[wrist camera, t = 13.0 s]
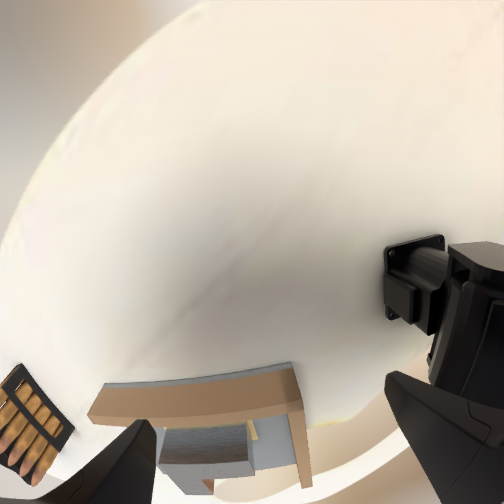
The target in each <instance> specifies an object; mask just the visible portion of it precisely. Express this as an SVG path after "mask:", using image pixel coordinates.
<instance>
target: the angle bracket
mask: <svg viewBox="0 0 504 504" xmlns="http://www.w3.org/2000/svg"><path fill="white" fill-rule="evenodd" d="M158 464H159V465H160V467H161V468H162V469H163V470H164V471H165V473H166V474H167V475H168V476H169V477H170V478H171V479H172V481H173V482H174V483H175V484H176V485H177V486H178V487H179V488H180V489H181V490H182V491H183V492H184V493H185V494H186V495H214V479H224V478H237V477H248V476H255V468H254V455H253V442H252V436H251V433H250V430H249V427H248V424H247V421H241V422H234V423H225V424H216V425H204V426H189V427H167V428H166V432H165V437H164V441H163V445H162V449H161V453H160V458H159V462H158Z"/></svg>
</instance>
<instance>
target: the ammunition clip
mask: <svg viewBox="0 0 504 504" xmlns="http://www.w3.org/2000/svg"><path fill="white" fill-rule="evenodd" d="M20 384H21V385H20ZM19 385H20V386H19ZM18 386H19V387H18ZM17 387H18V389H17ZM16 389H17V390H16ZM15 390H16V391H15ZM29 396H30V397H29ZM28 397H29V398H28ZM26 400H27V401H26ZM5 401H6V403H5V404H4V405H3V406H2V404H3V403H4V402H5ZM25 401H26V402H25ZM24 402H25V403H24ZM23 403H24V404H23ZM1 406H2V407H1ZM0 407H1V409H0V430H1V429H2V428H3V427H4V426H5V425H6V424H8V423H9V421H10V420H11V419H12V417H13V416H14V415H15V414H16V415H15V416H14V417H13V419H12V420H11V421H10V423H9V424H8V426H7V428H6V431H5V432H4V434H3V436H2V437H1V439H0V454H1V453H2V452H4V451H5V450H6V449H7V448H8V447H9V445H10V444H11V443H12V442H13V440H14V439H15V438H16V437H17V436H18V435H19V434H20V435H19V436H18V439H17V442H16V443H15V445H14V447H13V449H12V451H11V453H10V455H9V459H8V466H12V465H13V464H15V463H16V462H17V461H18V460H19V458H20V457H21V455H22V454H23V453H24V451H25V450H26V449H27V448H28V447H29V448H28V452H27V454H26V456H25V458H24V460H23V462H22V465H21V468H20V477H23V476H24V475H26V474H27V473H28V472H29V471H30V469H31V468H32V466H33V464H34V463H35V462H36V460H37V459H38V458H39V457H40V458H39V461H38V464H37V466H36V469H35V471H34V473H33V476H32V481H31V485H32V487H34V486H36V485H37V484H38V483H39V482H40V481H41V480H42V478H43V476H44V474H45V473H46V471H47V470H48V469H49V468H50V467H51V465H52V463H53V461H54V459H55V457H56V456H57V454H58V452H60V451H61V450H62V448H63V447H64V445H65V443H66V442H67V440H68V439H69V437H70V436H71V434H72V432H73V431H74V429H75V427H74V426H73V425H72V424H71V423H70V422H69V421H68V420H67V418H66V417H65V416H64V415H63V414H62V413H61V412H60V411H59V410H58V409H57V407H56V406H55V405H54V404H53V403H52V402H51V400H50V399H49V398H48V397H47V396H46V394H45V393H44V392H43V391H42V389H41V388H40V387H39V385H38V384H37V383H36V382H35V380H34V379H33V378H32V376H31V375H30V373H29V372H28V371H27V369H26V368H25V366H24V365H23V363H21V364H19V365H17V366H16V367H15V368H14V369H13V370H12V371H11V372H10V373H9V375H8V376H7V377H6V378H5V379H4V381H3V382H2V383H1V384H0ZM21 431H22V432H21Z"/></svg>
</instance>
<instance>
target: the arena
mask: <svg viewBox="0 0 504 504" xmlns="http://www.w3.org/2000/svg"><path fill="white" fill-rule="evenodd" d="M87 416H88V417H89V419H90V420H91V422H92V423H93V424H98V425H109V426H123V427H127V428H128V427H129V426H130V425H131V424H132V423H133V422H134V421H135V420H136V419H147V420H148V421H149V422H150V424H151V425H152V427H153V428H154V430H155V431H156V434H157V448H156V466H157V467H158V468H159V469H160V470H161V471H162V473H163V474H166V473H165V471H164V470H163V469H162V468H161V467H160V465H159V464H158V462H159V458H160V453H161V449H162V445H163V441H164V437H165V432H166V428H167V427H189V426H204V425H216V424H225V423H234V422H241V421H247V424H248V427H249V430H250V433H251V436H252V442H253V455H254V468H255V470H263V469H269V468H275V467H281V466H287V465H291V464H297V468H298V473H299V478H300V482H301V487H302V489H303V488H308V487H312V486H313V485H312V475H311V466H310V457H309V448H308V440H307V432H306V424H305V416H304V408H303V401H302V397H301V393H300V390H299V387H298V383H297V380H296V377H295V374H294V370H293V367H292V364H291V362H288V363H284V364H279V365H274V366H269V367H264V368H259V369H254V370H248V371H242V372H236V373H230V374H223V375H216V376H209V377H201V378H192V379H182V380H172V381H159V382H142V383H105V384H104V386H103V387H102V389H101V391H100V392H99V394H98V396H97V398H96V399H95V401H94V403H93V405H92V406H91V408H90V410H89V412H88V413H87Z"/></svg>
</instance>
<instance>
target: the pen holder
mask: <svg viewBox="0 0 504 504" xmlns="http://www.w3.org/2000/svg"><path fill="white" fill-rule="evenodd" d="M15 415H16V414H15ZM15 415H14V416H15ZM14 416H13V417H14ZM13 417H12V419H13ZM12 419H11V420H12ZM11 420H10V421H11ZM10 421H9V423H10ZM9 423H8V424H9ZM8 424H6V425H5V426H4V427H3V428H2V429H1V430H0V439H1V437H2V436H3V434H4V432H5V431H6V428H7V426H8ZM21 432H22V431H21ZM19 435H20V434H19ZM19 435H18V436H19ZM18 436H17V437H16V438H15V439H14V440H13V442H12V443H11V444H10V445H9V447H8V448H7V449H6V450H5V451H4V452H2V453H1V454H0V464H1V465H3V466H5V467H6V468H9V469H11V470H13V471H14V472H16V473H17V474H18V475H20V468H21V465H22V462H23V460H24V458H25V456H26V454H27V452H28V448H29V447H28V448H27V449H26V450H25V451H24V453H23V454H22V455H21V457H20V458H19V460H18V461H17V462H16V463H15V464H13V465H12V466H8V459H9V455H10V453H11V451H12V449H13V447H14V445H15V443H16V442H17V439H18ZM39 458H40V457H39ZM39 458H38V459H37V460H36V462H35V463H34V464H33V466H32V468H31V469H30V471H29V472H28V473H27V474H26V475H24V476H23V477H21V478H22V479H23V480H24V481H25V482H26V483H27V484H29V485H31V481H32V476H33V473H34V471H35V469H36V466H37V464H38V461H39Z"/></svg>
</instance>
